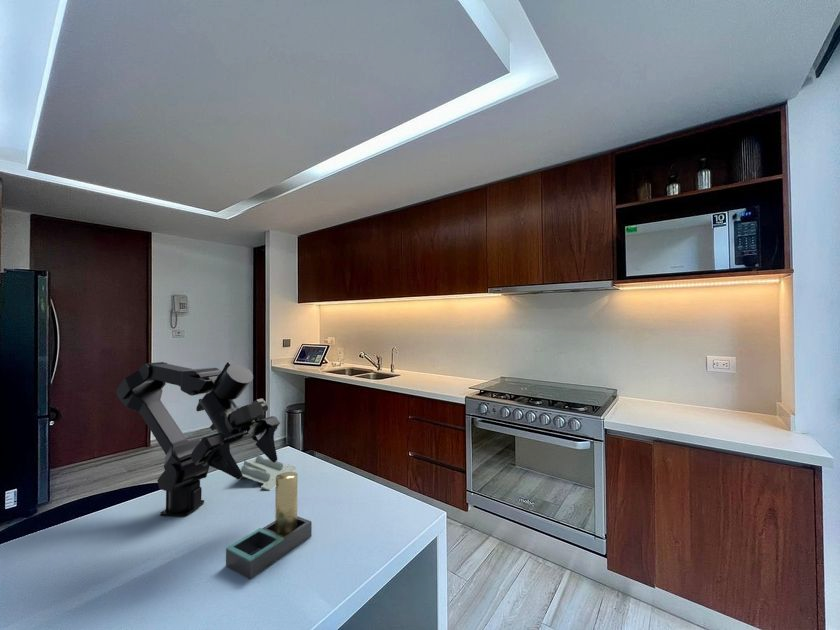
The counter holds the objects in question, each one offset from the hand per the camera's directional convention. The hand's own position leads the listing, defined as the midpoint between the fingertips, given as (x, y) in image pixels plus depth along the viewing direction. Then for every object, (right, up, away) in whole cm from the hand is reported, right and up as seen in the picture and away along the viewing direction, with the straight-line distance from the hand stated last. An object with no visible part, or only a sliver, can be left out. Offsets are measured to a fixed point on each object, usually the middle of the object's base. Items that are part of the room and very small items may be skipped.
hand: (259, 469), depth 74 cm
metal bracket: (-11, -15, +26) cm, 32 cm away
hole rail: (+5, -13, -6) cm, 16 cm away
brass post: (+7, -13, -3) cm, 15 cm away
